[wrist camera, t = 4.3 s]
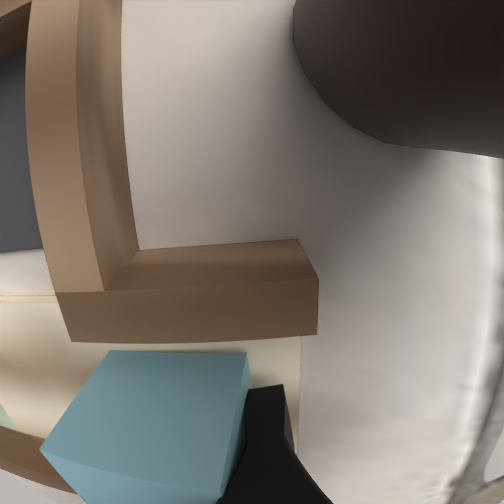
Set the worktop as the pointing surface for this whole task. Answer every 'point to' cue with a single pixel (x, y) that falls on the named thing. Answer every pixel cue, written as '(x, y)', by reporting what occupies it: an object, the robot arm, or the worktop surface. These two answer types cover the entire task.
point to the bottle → (409, 68)
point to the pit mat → (15, 160)
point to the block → (154, 428)
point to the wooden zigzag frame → (119, 249)
